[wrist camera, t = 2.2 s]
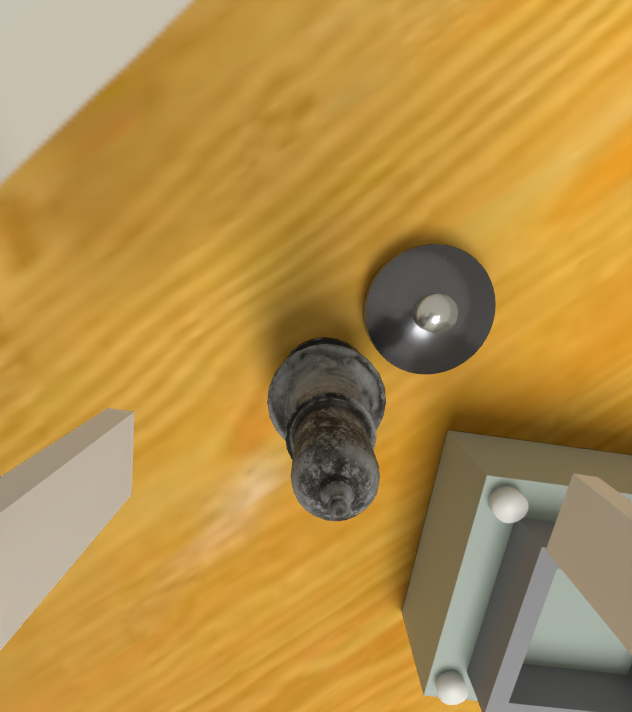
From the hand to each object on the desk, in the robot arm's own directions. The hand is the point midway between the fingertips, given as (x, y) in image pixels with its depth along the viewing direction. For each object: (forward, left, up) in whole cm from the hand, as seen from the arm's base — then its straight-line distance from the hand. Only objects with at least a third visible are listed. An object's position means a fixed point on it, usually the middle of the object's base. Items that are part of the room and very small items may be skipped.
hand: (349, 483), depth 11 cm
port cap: (+5, +5, -11) cm, 13 cm away
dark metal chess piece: (0, 0, -11) cm, 11 cm away
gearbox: (+15, -10, -11) cm, 21 cm away
